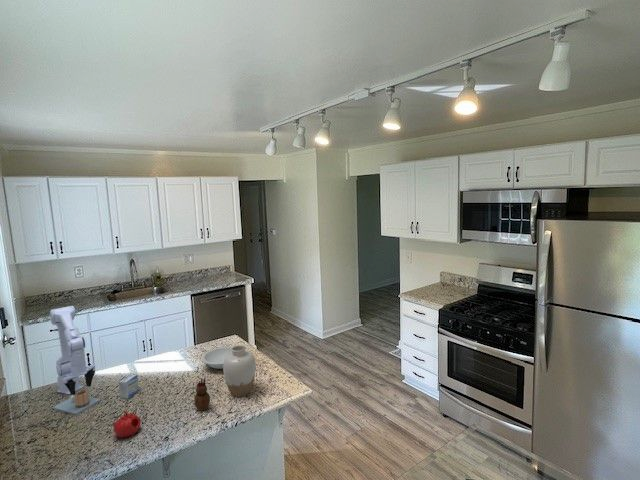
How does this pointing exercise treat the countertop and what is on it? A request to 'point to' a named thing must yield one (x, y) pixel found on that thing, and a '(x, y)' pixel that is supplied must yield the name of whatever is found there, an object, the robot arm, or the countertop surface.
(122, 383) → the medicine box
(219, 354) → the soup bowl
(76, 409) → the pin board
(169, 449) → the countertop surface
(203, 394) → the wooden figurine
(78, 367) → the robot arm
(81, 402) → the sleeve
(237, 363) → the vase
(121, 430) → the pomegranate
